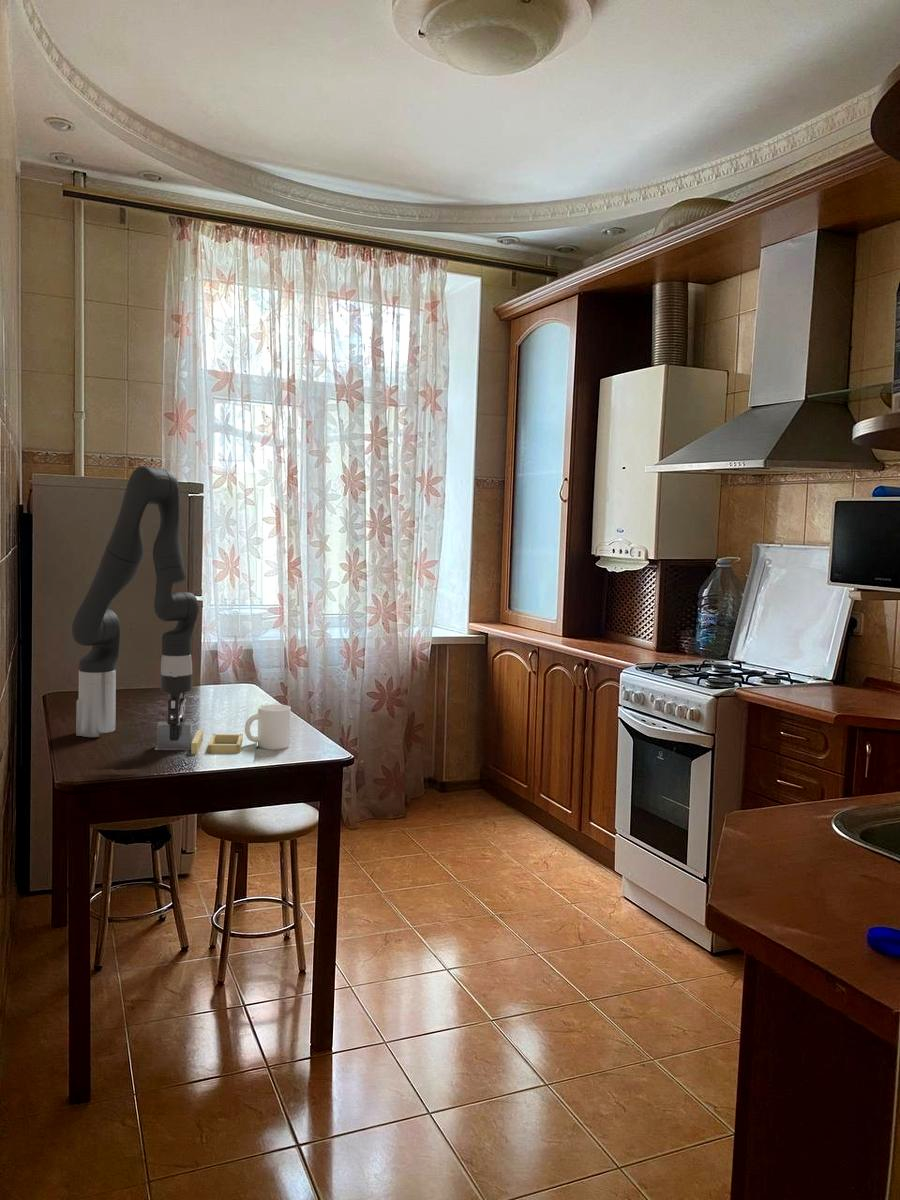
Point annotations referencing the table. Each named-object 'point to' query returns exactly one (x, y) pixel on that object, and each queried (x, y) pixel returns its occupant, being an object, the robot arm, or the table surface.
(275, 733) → the mug
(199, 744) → the white fixture board
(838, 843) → the table surface
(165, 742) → the block
